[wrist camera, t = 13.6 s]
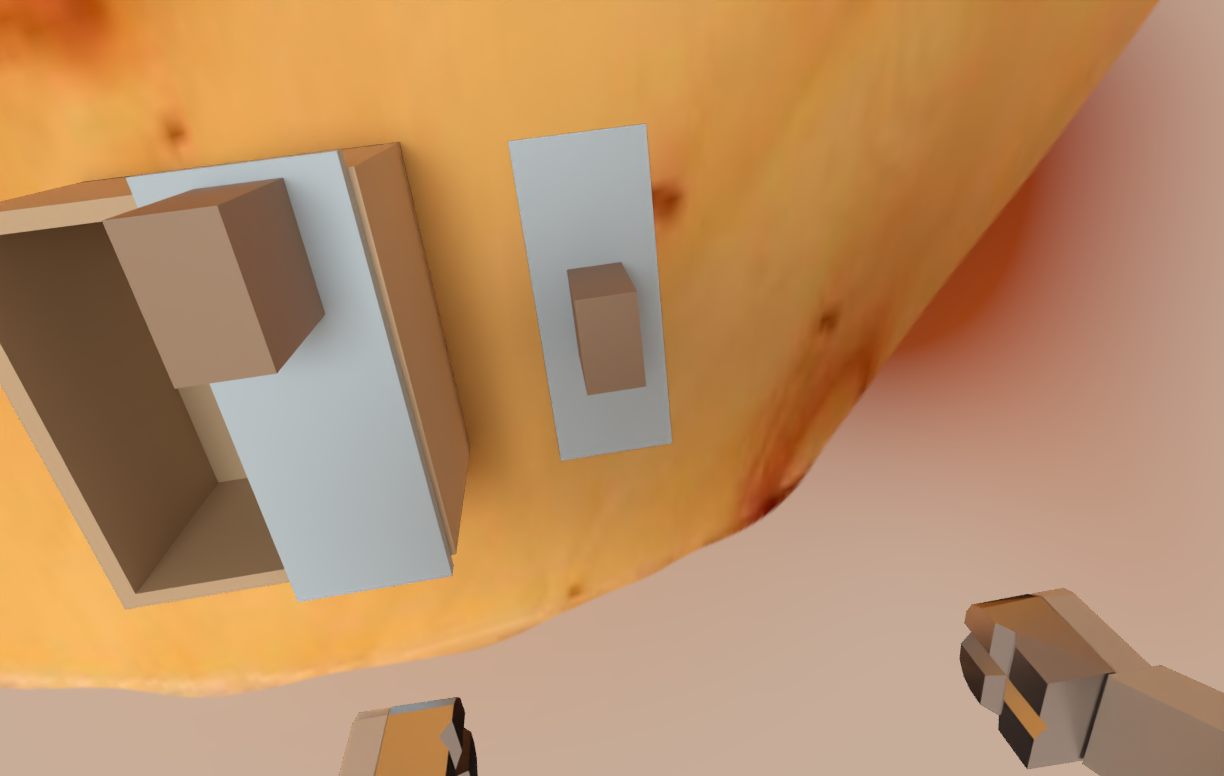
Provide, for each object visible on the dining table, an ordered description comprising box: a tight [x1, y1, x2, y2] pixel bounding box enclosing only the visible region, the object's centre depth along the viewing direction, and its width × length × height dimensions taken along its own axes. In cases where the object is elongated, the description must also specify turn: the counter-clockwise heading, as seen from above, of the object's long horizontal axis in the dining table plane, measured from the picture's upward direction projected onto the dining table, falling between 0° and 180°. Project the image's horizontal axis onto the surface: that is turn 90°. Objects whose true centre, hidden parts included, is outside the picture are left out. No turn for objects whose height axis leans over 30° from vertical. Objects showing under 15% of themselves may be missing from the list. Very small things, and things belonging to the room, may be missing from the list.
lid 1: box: [102, 149, 454, 602], centre depth 20 cm, size 6×15×5 cm, turn 6°
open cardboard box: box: [0, 142, 470, 609], centre depth 25 cm, size 12×14×8 cm
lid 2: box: [508, 124, 672, 461], centre depth 29 cm, size 6×15×5 cm, turn 6°
